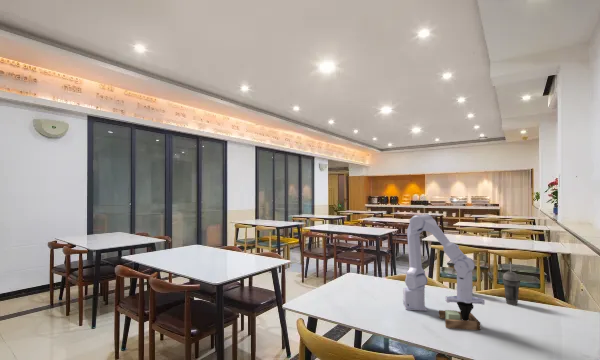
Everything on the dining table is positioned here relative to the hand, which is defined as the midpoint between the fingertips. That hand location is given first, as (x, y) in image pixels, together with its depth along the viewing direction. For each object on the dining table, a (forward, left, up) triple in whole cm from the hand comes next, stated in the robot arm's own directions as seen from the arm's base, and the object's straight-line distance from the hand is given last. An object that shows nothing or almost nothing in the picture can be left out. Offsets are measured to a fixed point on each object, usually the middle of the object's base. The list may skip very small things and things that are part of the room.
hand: (464, 320), depth 129 cm
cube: (-5, 0, -2) cm, 5 cm away
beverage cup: (+31, +28, -2) cm, 42 cm away
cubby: (-3, 0, -1) cm, 4 cm away
